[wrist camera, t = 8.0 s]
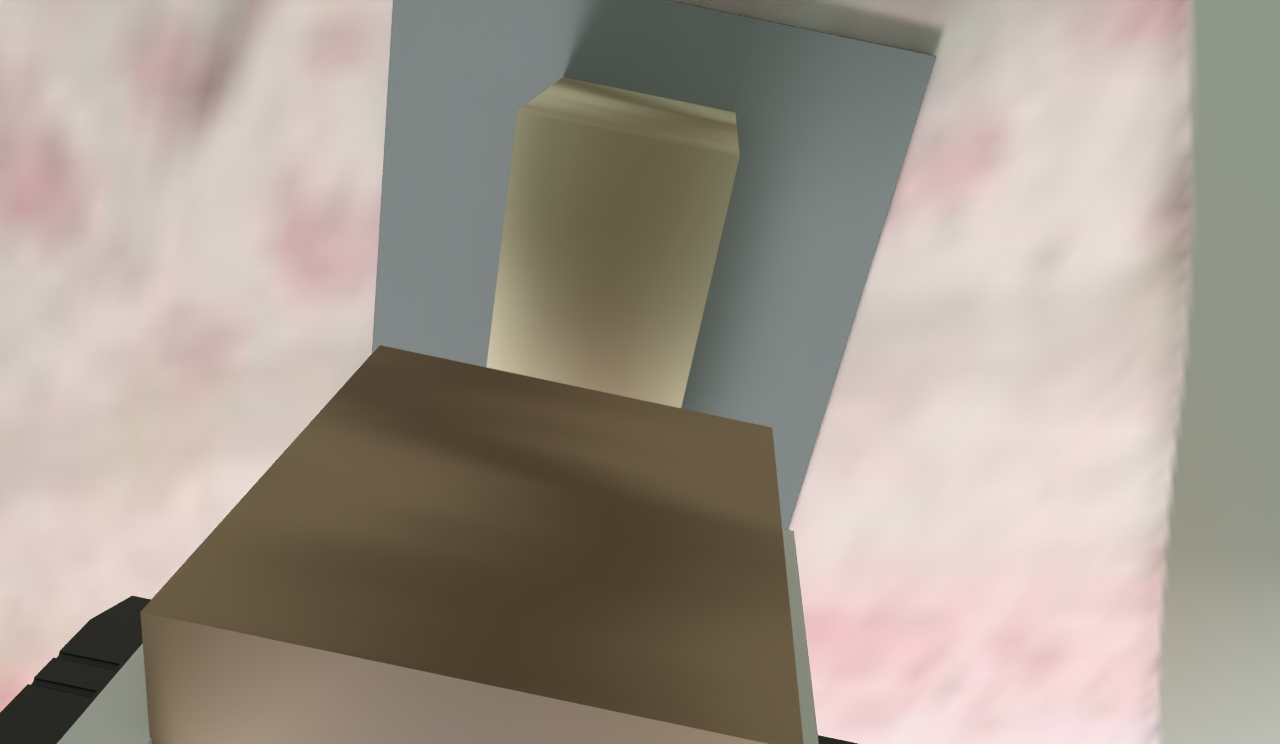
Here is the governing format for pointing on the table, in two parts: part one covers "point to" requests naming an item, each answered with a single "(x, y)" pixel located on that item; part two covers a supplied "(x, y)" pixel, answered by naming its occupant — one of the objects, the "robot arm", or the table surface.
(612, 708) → the walnut cube
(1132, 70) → the table surface
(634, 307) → the plinth
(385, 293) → the mat
